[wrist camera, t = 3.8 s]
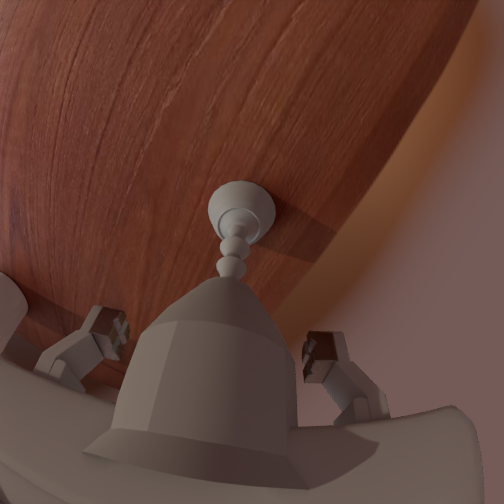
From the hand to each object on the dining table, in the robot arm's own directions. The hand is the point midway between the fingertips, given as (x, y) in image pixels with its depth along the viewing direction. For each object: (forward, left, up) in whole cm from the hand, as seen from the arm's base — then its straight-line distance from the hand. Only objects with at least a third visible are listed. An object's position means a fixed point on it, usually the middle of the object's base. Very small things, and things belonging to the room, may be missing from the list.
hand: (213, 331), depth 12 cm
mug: (+35, +17, -11) cm, 40 cm away
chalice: (0, 0, -11) cm, 11 cm away
